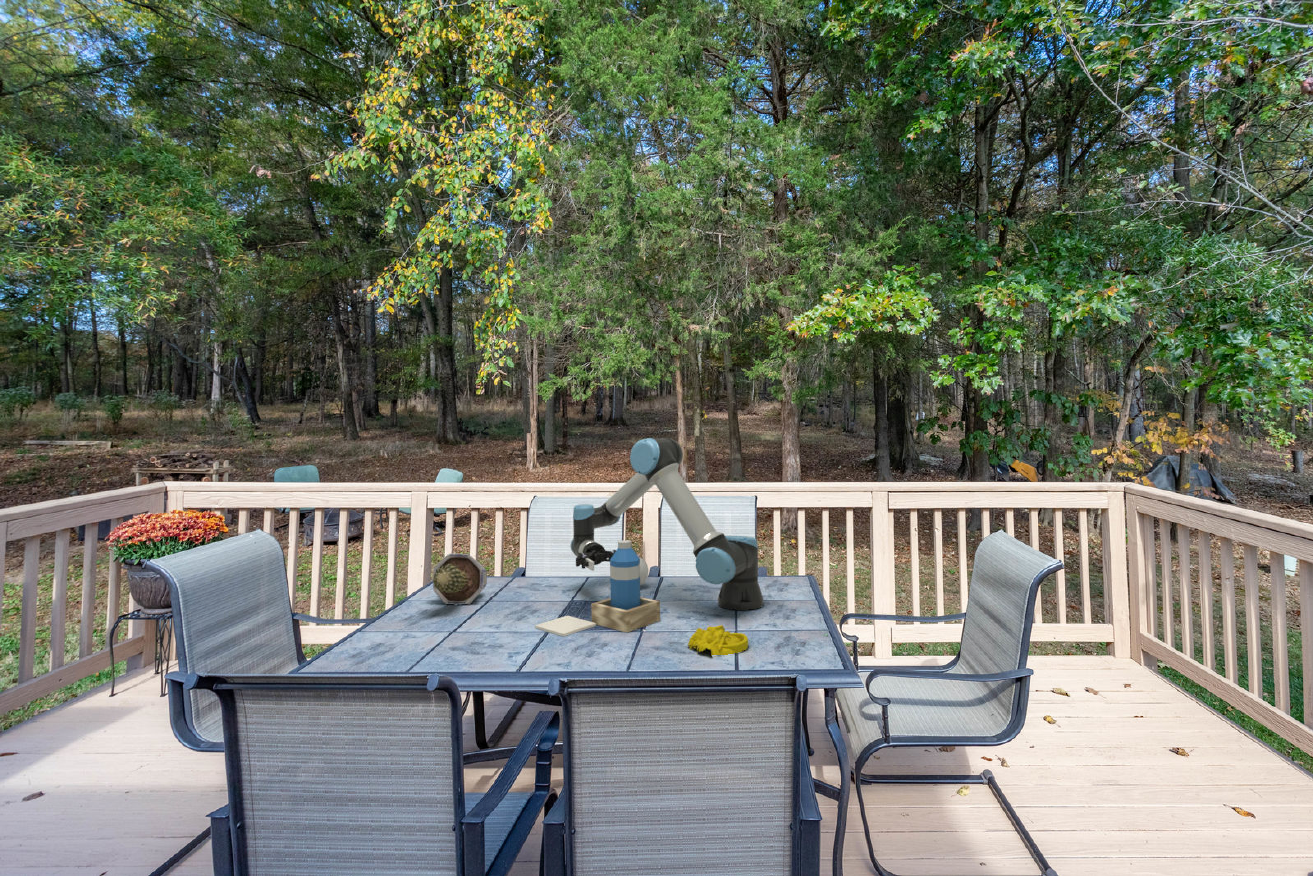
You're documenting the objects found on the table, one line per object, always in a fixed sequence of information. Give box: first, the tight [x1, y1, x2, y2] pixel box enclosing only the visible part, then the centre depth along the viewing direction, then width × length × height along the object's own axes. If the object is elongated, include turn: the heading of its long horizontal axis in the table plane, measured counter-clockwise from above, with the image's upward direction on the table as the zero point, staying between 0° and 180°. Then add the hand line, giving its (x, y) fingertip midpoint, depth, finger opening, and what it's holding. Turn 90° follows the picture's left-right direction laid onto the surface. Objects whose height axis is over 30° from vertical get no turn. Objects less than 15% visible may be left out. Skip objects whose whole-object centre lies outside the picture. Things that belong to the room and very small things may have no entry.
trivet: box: [534, 615, 597, 637], centre depth 198 cm, size 13×13×1 cm
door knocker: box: [687, 624, 749, 657], centre depth 180 cm, size 17×16×4 cm
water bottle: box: [609, 539, 641, 610], centre depth 202 cm, size 9×9×25 cm
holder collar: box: [590, 596, 661, 633], centre depth 203 cm, size 15×15×6 cm
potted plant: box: [432, 553, 488, 605], centre depth 224 cm, size 18×18×30 cm
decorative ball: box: [638, 556, 649, 587], centre depth 246 cm, size 12×12×12 cm
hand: (613, 564), depth 211 cm, fingers open, 13 cm apart
